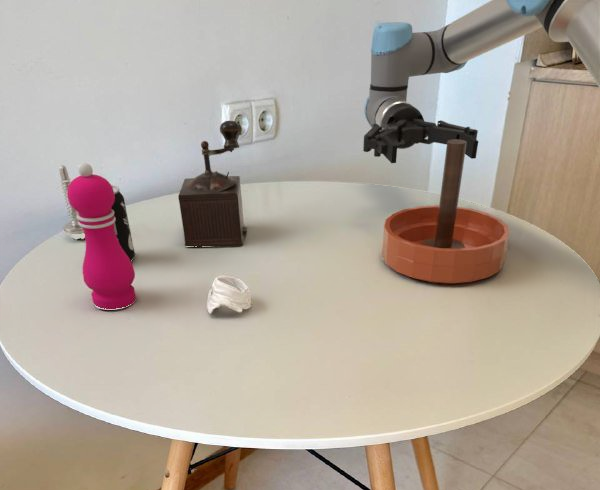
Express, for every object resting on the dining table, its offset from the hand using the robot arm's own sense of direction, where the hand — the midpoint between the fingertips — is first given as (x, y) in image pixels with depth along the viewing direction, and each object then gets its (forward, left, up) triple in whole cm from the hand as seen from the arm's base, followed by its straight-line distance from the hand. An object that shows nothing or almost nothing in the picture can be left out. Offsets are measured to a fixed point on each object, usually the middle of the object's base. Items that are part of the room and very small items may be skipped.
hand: (435, 152), depth 97 cm
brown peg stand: (-8, +3, -14) cm, 17 cm away
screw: (+30, +56, -15) cm, 65 cm away
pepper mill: (+1, +55, -15) cm, 57 cm away
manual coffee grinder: (+21, +32, -15) cm, 41 cm away
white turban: (-7, +40, -15) cm, 43 cm away
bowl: (-9, +3, -15) cm, 17 cm away
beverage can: (+16, +52, -15) cm, 56 cm away
